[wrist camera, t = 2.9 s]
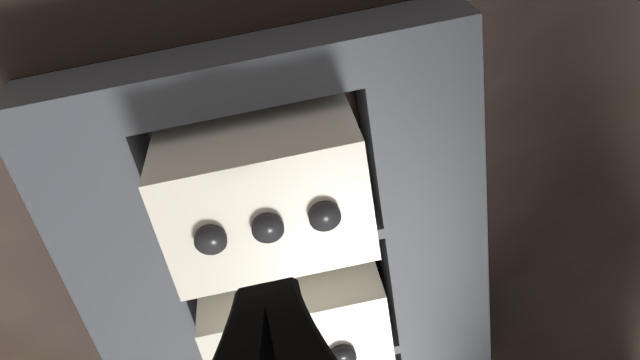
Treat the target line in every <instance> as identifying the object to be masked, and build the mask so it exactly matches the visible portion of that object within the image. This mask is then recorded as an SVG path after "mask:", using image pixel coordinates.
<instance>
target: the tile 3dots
mask: <svg viewBox="0 0 640 360" xmlns="http://www.w3.org/2000/svg"><path fill="white" fill-rule="evenodd" d="M138 189H139V191H140V194H141V197H142V199H143V202H144V205H145V207H146V210H147V213H148V215H149V218H150V221H151V223H152V226H153V229H154V231H155V234H156V236H157V239H158V242H159V244H160V247H161V250H162V252H163V255H164V258H165V260H166V263H167V266H168V268H169V271H170V274H171V276H172V279H173V282H174V284H175V287H176V290H177V292H178V295H179V298H180V300H181V302H182V301H187V300H192V299H196V298H201V297H206V296H211V295H216V294H220V293H225V292H230V291H235V290H238V289H239V288H242V287H247V286H251V285H256V284H261V283H266V282H270V281H275V280H280V279H285V278H289V277H293V278H297V277H301V276H306V275H311V274H316V273H320V272H325V271H330V270H335V269H340V268H344V267H349V266H354V265H359V264H363V263H368V262H373V261H378V260H381V254H380V247H379V239H378V232H377V225H376V218H375V211H374V204H373V197H372V190H371V183H370V176H369V169H368V162H367V154H366V147H365V141H364V138H363V136H362V134H361V131H360V129H359V126H358V124H357V122H356V119H355V117H354V114H353V112H352V110H351V107H350V105H349V102H348V100H347V98H346V95H345V93H340V94H335V95H330V96H325V97H320V98H315V99H310V100H305V101H300V102H295V103H290V104H285V105H281V106H276V107H271V108H266V109H261V110H256V111H251V112H246V113H241V114H236V115H231V116H226V117H221V118H216V119H211V120H207V121H202V122H197V123H192V124H187V125H182V126H177V127H172V128H167V129H162V130H157V131H152V135H151V139H150V143H149V147H148V151H147V154H146V158H145V162H144V166H143V170H142V174H141V178H140V182H139V186H138Z"/></svg>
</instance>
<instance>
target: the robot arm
mask: <svg viewBox="0 0 640 360" xmlns="http://www.w3.org/2000/svg"><path fill="white" fill-rule="evenodd" d="M212 360H338V359H337V358H336V356H335V355H334V354H333V352H332V351H331V349H330V348H329V346H328V345H327V343H326V341H325V340H324V338H323V336H322V335H321V333H320V331H319V330H318V328H317V326H316V325H315V323H314V321H313V319H312V317H311V315H310V313H309V311H308V309H307V307H306V305H305V302H304V300H303V297H302V294H301V290H300V286H299V282H298V280H297V279H295V278H293V277H289V278H285V279H280V280H275V281H270V282H266V283H261V284H256V285H251V286H247V287H242V288H239V289H238V290H237V291H236V292H235V295H234V299H233V303H232V307H231V310H230V313H229V317H228V320H227V323H226V325H225V328H224V331H223V334H222V337H221V339H220V342H219V344H218V347H217V349H216V352H215V354H214V357H213V359H212Z"/></svg>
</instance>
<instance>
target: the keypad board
mask: <svg viewBox="0 0 640 360" xmlns="http://www.w3.org/2000/svg"><path fill="white" fill-rule="evenodd" d="M354 90H355V93H356V100H357V107H358V114H359V121H360V128H361V134H362V136H363V138H364V141H365V147H366V154H367V162H368V169H369V176H370V183H371V190H372V197H373V204H374V211H375V218H376V225H377V232H378V239H379V247H380V254H381V260H380V267H381V274H382V281H383V288H384V291H385V294H386V297H387V303H388V310H389V317H390V324H391V332H392V339H393V346H394V353H395V360H491V343H490V304H489V264H488V224H487V185H486V145H485V105H484V66H483V26H482V13H481V12H480V11H478V10H477V9H476V8H474V7H473V6H472V5H470V4H469V3H468V2H467V1H465V0H411V1H406V2H401V3H396V4H391V5H386V6H381V7H376V8H371V9H366V10H361V11H356V12H351V13H346V14H341V15H336V16H331V17H326V18H321V19H316V20H311V21H306V22H301V23H296V24H291V25H286V26H281V27H276V28H271V29H266V30H261V31H256V32H251V33H246V34H241V35H236V36H231V37H226V38H221V39H216V40H211V41H206V42H201V43H196V44H191V45H186V46H181V47H176V48H171V49H166V50H161V51H156V52H151V53H146V54H141V55H136V56H131V57H126V58H121V59H116V60H111V61H106V62H101V63H96V64H91V65H86V66H81V67H76V68H71V69H66V70H61V71H56V72H51V73H46V74H41V75H36V76H31V77H26V78H21V79H16V80H11V81H8V82H7V83H6V85H5V86H4V87H3V88H2V89H1V90H0V155H1V157H2V159H3V161H4V163H5V165H6V167H7V169H8V171H9V173H10V175H11V177H12V179H13V181H14V183H15V185H16V187H17V189H18V191H19V193H20V195H21V197H22V199H23V201H24V203H25V205H26V207H27V209H28V211H29V213H30V215H31V217H32V219H33V221H34V224H35V226H36V228H37V230H38V232H39V234H40V236H41V238H42V240H43V242H44V244H45V246H46V248H47V250H48V252H49V254H50V256H51V258H52V260H53V262H54V264H55V266H56V268H57V270H58V272H59V274H60V276H61V278H62V280H63V282H64V284H65V286H66V288H67V290H68V292H69V294H70V296H71V298H72V300H73V302H74V304H75V306H76V308H77V310H78V312H79V314H80V316H81V318H82V320H83V322H84V324H85V326H86V328H87V330H88V332H89V334H90V336H91V338H92V340H93V342H94V344H95V346H96V348H97V350H98V352H99V354H100V356H101V358H102V360H203V359H202V356H201V354H200V351H199V348H198V346H197V343H196V340H195V326H196V312H197V298H196V299H192V300H187V301H182V302H181V300H180V298H179V295H178V292H177V290H176V287H175V284H174V282H173V279H172V276H171V274H170V271H169V268H168V266H167V263H166V260H165V258H164V255H163V252H162V250H161V247H160V244H159V242H158V239H157V236H156V234H155V231H154V229H153V226H152V223H151V221H150V218H149V215H148V213H147V210H146V207H145V205H144V202H143V199H142V197H141V194H140V191H139V189H138V186H139V182H140V178H141V174H142V170H143V166H144V162H145V158H146V154H147V151H148V147H149V143H150V139H149V136H148V133H147V132H152V131H157V130H162V129H167V128H172V127H177V126H182V125H187V124H192V123H197V122H202V121H207V120H211V119H216V118H221V117H226V116H231V115H236V114H241V113H246V112H251V111H256V110H261V109H266V108H271V107H276V106H281V105H285V104H290V103H295V102H300V101H305V100H310V99H315V98H320V97H325V96H330V95H335V94H340V93H345V92H350V91H354Z"/></svg>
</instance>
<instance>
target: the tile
mask: <svg viewBox="0 0 640 360" xmlns="http://www.w3.org/2000/svg"><path fill="white" fill-rule="evenodd" d="M295 279H297V280H298V282H299V286H300V290H301V294H302V297H303V300H304V302H305V305H306V307H307V309H308V311H309V313H310V315H311V317H312V319H313V321H314V323H315V325H316V326H317V328H318V330H319V331H320V333H321V335H322V336H323V338H324V340H325V341H326V343H327V345H328V346H329V348H330V349H331V351H332V352H333V354H334V355H335V356H336V358H337V359H338V360H395V353H394V346H393V339H392V332H391V324H390V317H389V310H388V303H387V297H386V294H385V291H384V288H383V285H382V282H381V279H380V275H379V272H378V269H377V266H376V263H375V261H373V262H368V263H363V264H359V265H354V266H349V267H344V268H340V269H335V270H330V271H325V272H320V273H316V274H311V275H306V276H301V277H297V278H295ZM236 291H237V290H235V291H230V292H225V293H220V294H216V295H211V296H206V297H201V298H197V312H196V326H195V340H196V343H197V346H198V348H199V351H200V354H201V356H202V359H203V360H212V359H213V357H214V354H215V352H216V349H217V347H218V344H219V342H220V339H221V337H222V334H223V331H224V328H225V325H226V323H227V320H228V317H229V313H230V310H231V307H232V303H233V299H234V295H235V292H236Z"/></svg>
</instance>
